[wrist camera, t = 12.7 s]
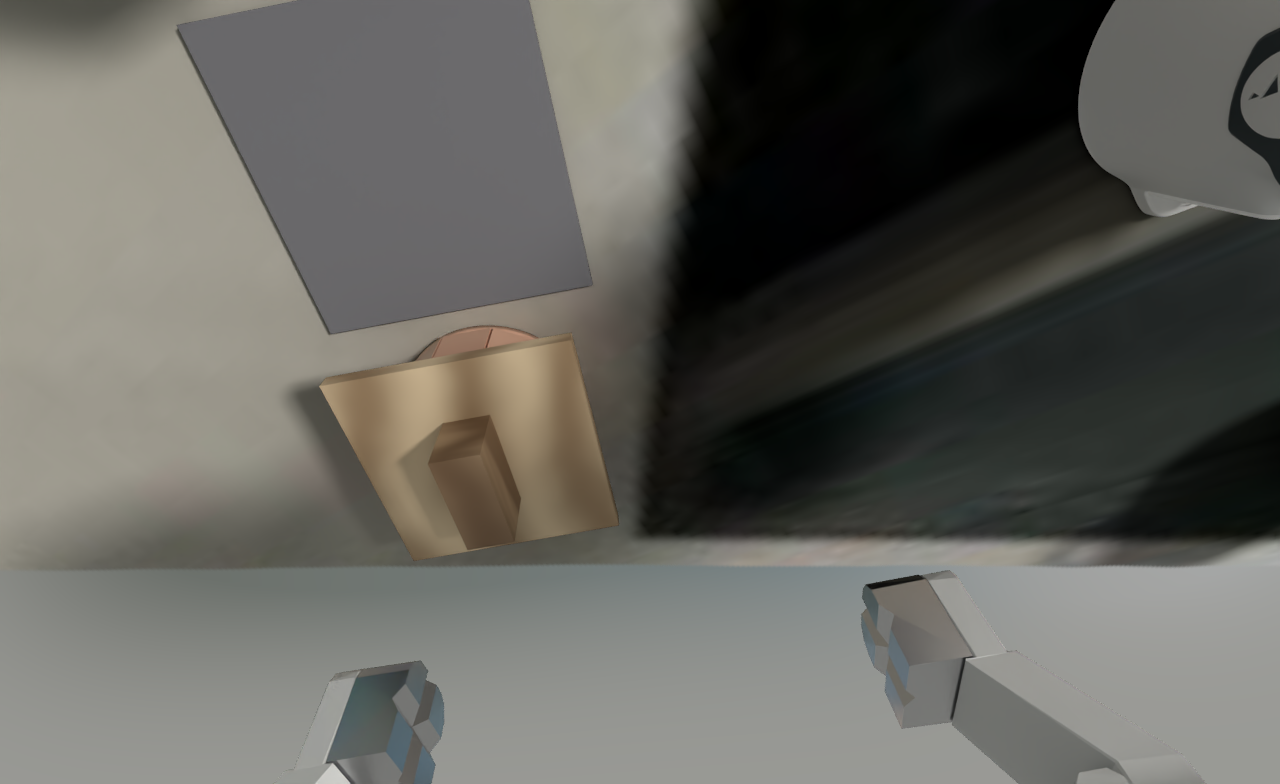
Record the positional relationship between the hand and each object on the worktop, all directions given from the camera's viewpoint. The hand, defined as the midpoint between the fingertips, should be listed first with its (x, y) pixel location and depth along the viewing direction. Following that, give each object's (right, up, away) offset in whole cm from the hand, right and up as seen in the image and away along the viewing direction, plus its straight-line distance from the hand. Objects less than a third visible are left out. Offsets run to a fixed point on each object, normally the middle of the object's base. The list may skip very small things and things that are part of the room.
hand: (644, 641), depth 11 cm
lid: (-10, +1, +28) cm, 30 cm away
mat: (-14, +18, +25) cm, 33 cm away
